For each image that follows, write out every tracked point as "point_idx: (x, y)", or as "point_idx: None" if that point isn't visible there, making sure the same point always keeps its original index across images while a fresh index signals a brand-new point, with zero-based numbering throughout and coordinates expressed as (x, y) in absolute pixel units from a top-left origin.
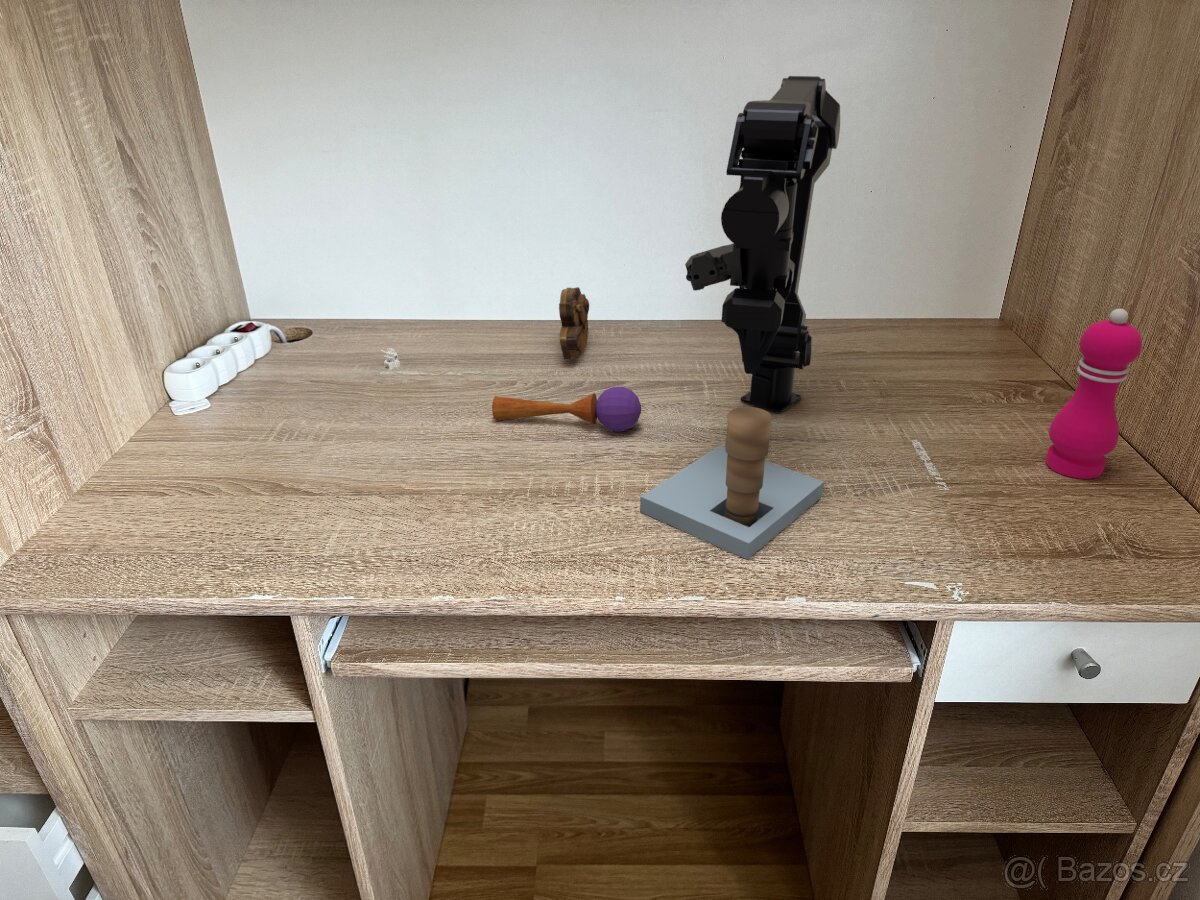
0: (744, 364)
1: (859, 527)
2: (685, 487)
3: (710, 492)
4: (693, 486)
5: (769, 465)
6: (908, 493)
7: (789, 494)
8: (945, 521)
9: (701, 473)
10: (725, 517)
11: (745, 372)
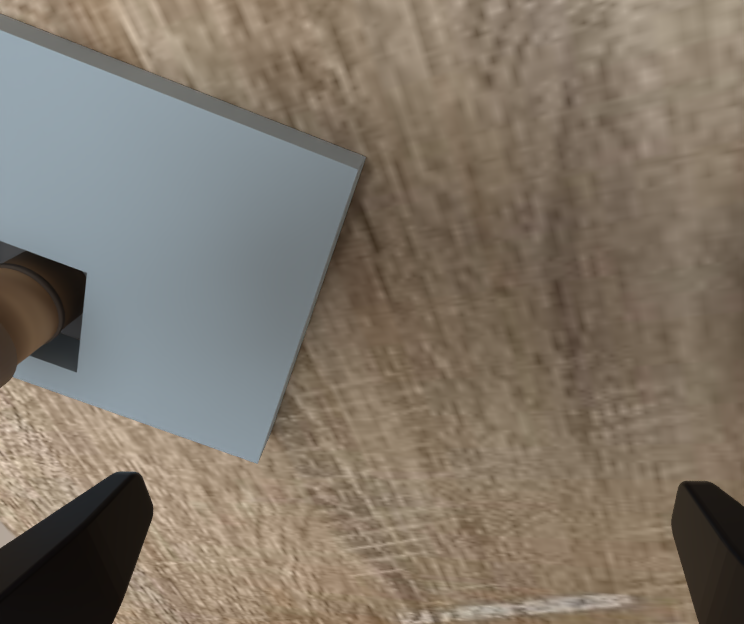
0: (52, 518)
1: (187, 495)
2: (23, 123)
3: (45, 207)
4: (42, 147)
5: (280, 339)
6: (360, 571)
7: (155, 399)
8: (282, 608)
9: (130, 152)
10: (15, 256)
11: (115, 474)
